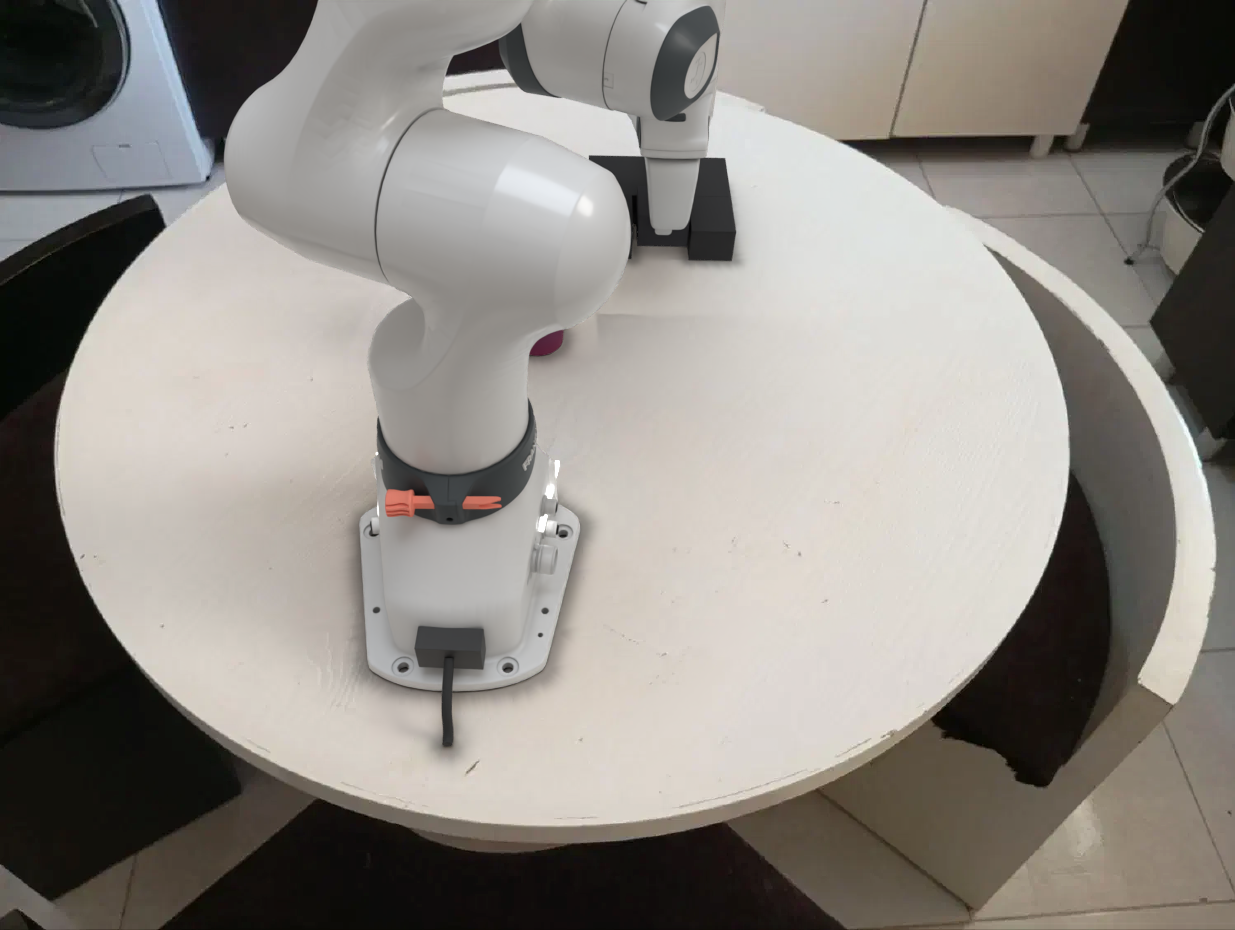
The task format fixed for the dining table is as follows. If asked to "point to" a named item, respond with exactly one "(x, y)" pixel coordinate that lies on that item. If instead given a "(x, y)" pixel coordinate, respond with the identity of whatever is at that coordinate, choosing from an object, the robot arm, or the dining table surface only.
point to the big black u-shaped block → (709, 209)
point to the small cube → (647, 232)
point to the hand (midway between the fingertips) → (661, 212)
